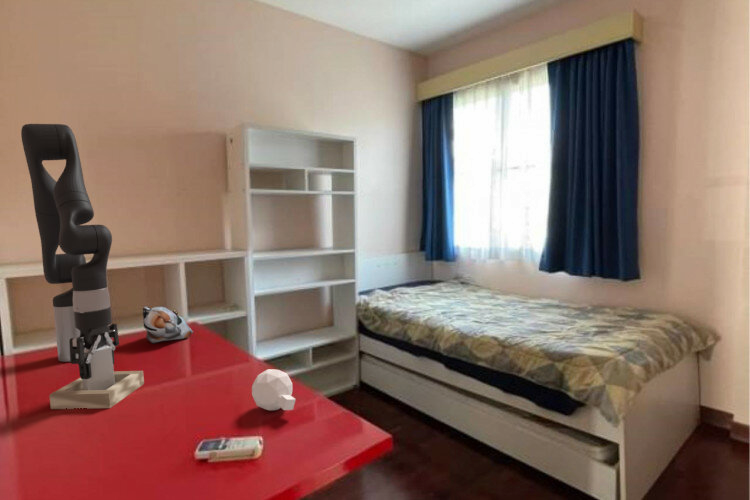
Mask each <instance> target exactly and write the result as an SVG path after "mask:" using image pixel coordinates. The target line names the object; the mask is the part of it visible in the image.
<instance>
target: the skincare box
mask: <svg viewBox="0 0 750 500" xmlns="http://www.w3.org/2000/svg"><path fill="white" fill-rule="evenodd" d="M84 350H88V349H84ZM86 355H87V354H84V358H86ZM89 363H91V374H92V377H91V378H89V379H82V385H83V390H107V389H108V388H110V387H111V386H113V385H115V379H114V371H115V370H114V365H113V359H112V350H111V347H110V346H108V345H104V346H102V347H99V348H98V349H96V351H95V353H94V354H93V355H92V357H91V359H90V362H89Z"/></svg>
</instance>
